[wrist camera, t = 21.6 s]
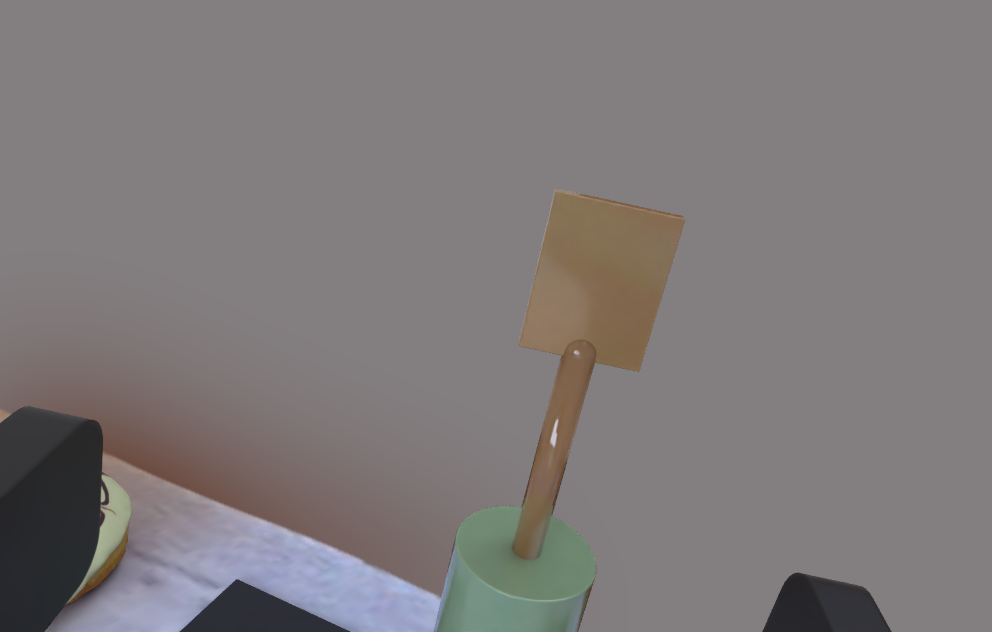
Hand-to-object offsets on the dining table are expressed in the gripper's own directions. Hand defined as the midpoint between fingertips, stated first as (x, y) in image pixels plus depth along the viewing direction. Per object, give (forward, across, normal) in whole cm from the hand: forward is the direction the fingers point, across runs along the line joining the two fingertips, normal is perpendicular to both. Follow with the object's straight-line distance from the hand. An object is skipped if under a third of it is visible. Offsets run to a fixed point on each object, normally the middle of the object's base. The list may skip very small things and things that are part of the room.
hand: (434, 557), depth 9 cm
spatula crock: (+16, -4, +23) cm, 28 cm away
